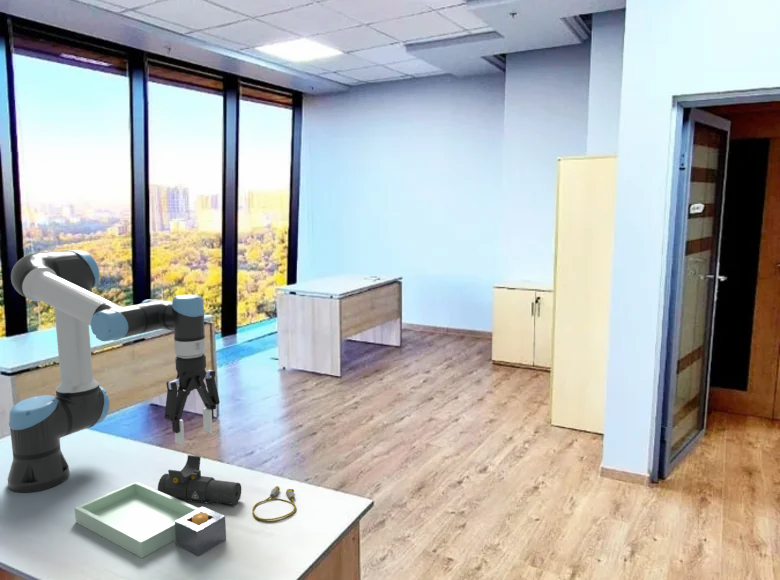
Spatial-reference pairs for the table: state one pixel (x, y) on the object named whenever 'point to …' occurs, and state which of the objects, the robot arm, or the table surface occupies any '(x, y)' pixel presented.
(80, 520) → the tray
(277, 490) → the extension cord
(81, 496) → the table surface
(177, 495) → the laser sight
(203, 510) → the grey square holder
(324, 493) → the table surface
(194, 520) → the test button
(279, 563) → the table surface
